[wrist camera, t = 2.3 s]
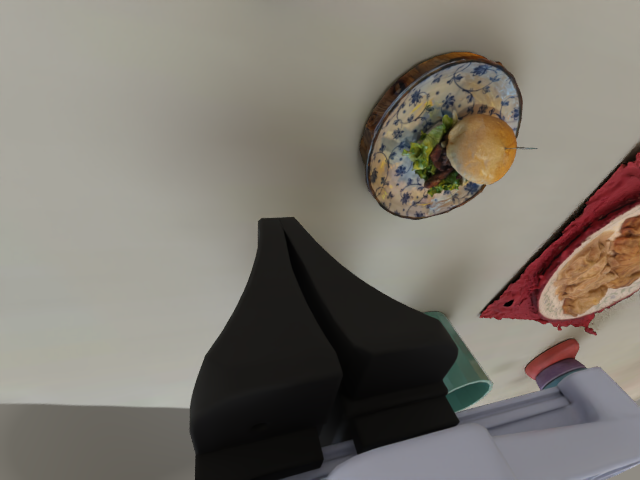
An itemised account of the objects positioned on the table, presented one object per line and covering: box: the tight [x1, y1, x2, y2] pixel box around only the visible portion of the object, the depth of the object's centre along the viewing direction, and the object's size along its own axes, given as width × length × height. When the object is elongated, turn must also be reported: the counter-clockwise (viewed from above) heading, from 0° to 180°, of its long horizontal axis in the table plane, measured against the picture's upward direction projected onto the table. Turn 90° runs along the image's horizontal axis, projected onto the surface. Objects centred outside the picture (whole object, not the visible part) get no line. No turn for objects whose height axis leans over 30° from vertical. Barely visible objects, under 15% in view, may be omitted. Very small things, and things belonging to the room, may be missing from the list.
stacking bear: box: [525, 339, 588, 390], centre depth 55 cm, size 11×10×18 cm
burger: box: [360, 52, 537, 220], centre depth 21 cm, size 12×12×8 cm
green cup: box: [424, 312, 493, 413], centre depth 38 cm, size 8×8×9 cm
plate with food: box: [479, 152, 640, 335], centre depth 40 cm, size 24×26×3 cm
